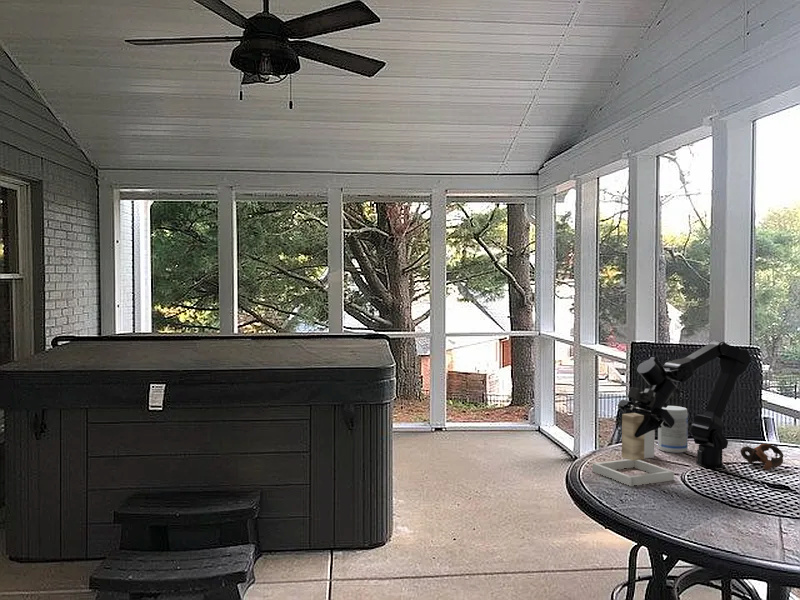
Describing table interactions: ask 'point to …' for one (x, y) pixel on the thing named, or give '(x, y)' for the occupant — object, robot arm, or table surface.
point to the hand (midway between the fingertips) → (629, 434)
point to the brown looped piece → (762, 455)
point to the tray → (655, 475)
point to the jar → (649, 444)
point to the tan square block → (632, 437)
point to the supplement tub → (674, 431)
